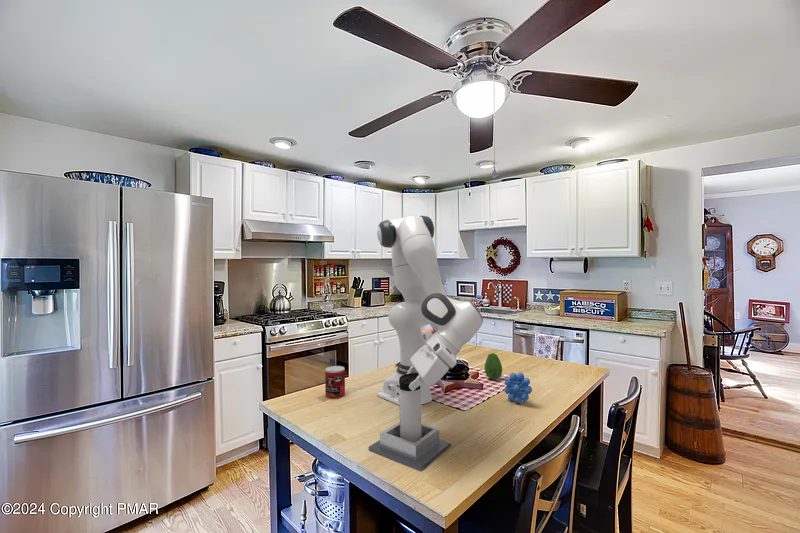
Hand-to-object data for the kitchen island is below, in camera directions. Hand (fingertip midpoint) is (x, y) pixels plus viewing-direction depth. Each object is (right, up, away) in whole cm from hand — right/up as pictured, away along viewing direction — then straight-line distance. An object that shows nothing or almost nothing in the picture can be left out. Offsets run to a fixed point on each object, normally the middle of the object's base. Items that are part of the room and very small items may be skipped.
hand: (407, 384), depth 107 cm
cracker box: (+9, -18, +72) cm, 75 cm away
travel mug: (+1, -18, +1) cm, 18 cm away
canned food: (-29, -19, +43) cm, 55 cm away
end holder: (+1, -19, 0) cm, 19 cm away
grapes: (+43, -18, +35) cm, 58 cm away
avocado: (+41, -18, +63) cm, 77 cm away
